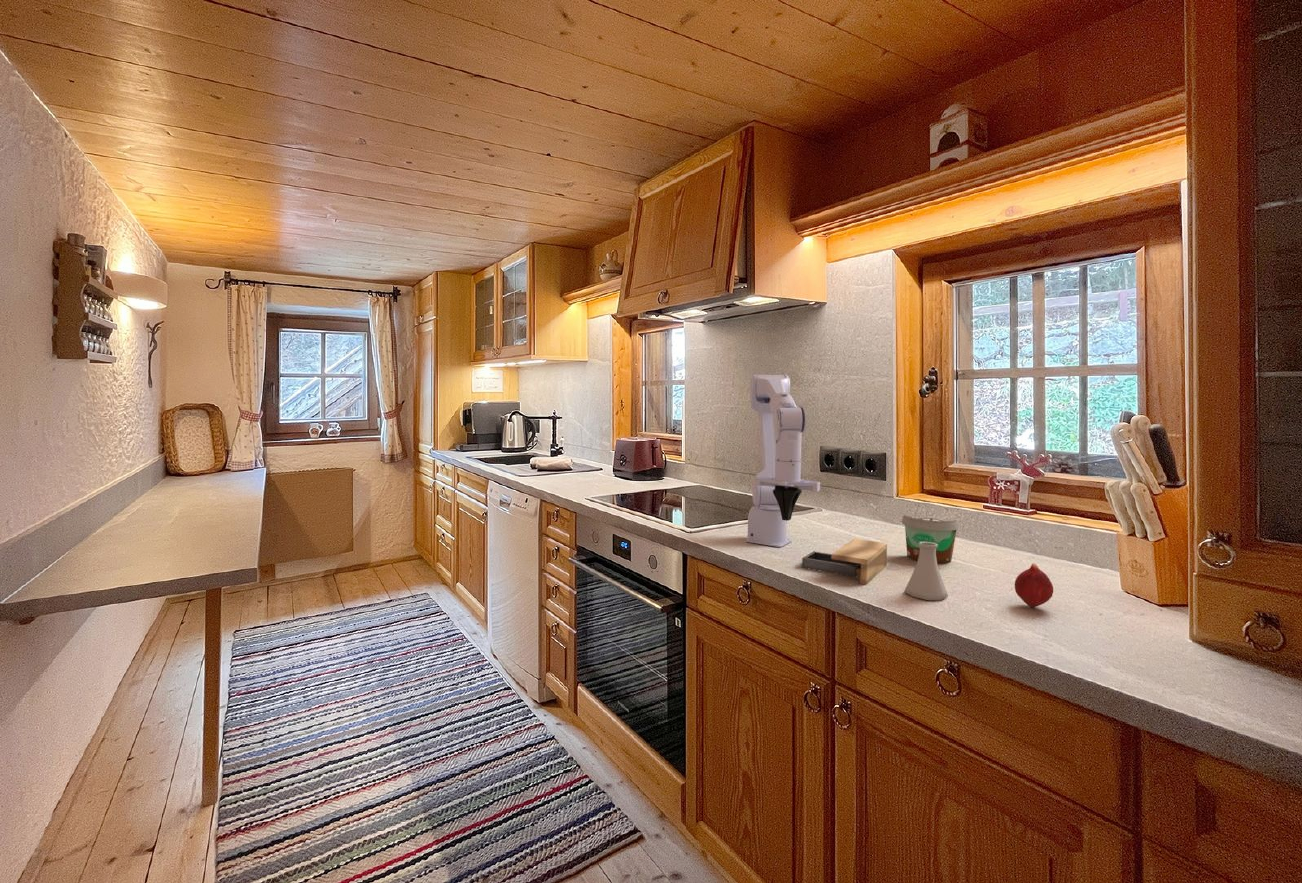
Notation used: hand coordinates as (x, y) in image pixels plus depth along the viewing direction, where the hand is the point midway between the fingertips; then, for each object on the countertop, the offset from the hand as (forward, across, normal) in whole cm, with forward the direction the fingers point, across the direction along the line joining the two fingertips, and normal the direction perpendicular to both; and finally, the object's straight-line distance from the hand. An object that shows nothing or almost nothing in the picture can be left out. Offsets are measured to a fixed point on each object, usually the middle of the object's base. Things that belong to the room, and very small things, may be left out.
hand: (786, 519), depth 136 cm
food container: (+10, +27, +18) cm, 34 cm away
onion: (+10, +48, -3) cm, 49 cm away
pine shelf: (+9, +16, +1) cm, 19 cm away
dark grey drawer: (+10, +11, 0) cm, 15 cm away
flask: (+10, +31, -7) cm, 33 cm away
